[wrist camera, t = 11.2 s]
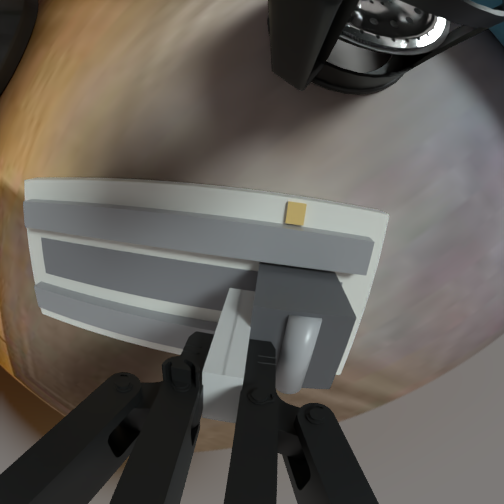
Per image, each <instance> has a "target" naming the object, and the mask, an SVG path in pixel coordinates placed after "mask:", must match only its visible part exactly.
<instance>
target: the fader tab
mask: <svg viewBox="0 0 504 504" xmlns="http://www.w3.org/2000/svg"><path fill="white" fill-rule="evenodd" d="M355 321H356V315H355V313H354V311H353V309H352V307H351V305H350V302H349V300H348V298H347V296H346V294H345V292H344V290H343V288H342V286H341V283H340V281H339V279H338V277H337V275H336V273H335V272H331V271H323V270H315V269H308V268H300V267H293V266H285V265H278V264H270V263H263V262H260V263H259V270H258V277H257V283H256V290H255V296H254V303H253V310H252V317H251V324H250V327H251V329H250V336H249V339H254V340H261V341H270V342H272V344H273V346H274V347H275V349H276V386H275V388H276V389H277V390H278V391H280V392H282V393H285V394H294V393H297V392H298V391H300V389H301V388H315V389H330V387H331V384H332V382H333V380H334V377H335V375H336V372H337V370H338V367H339V365H340V362H341V360H342V357H343V354H344V352H345V349H346V346H347V344H348V341H349V338H350V335H351V332H352V329H353V326H354V324H355Z"/></svg>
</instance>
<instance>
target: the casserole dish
mask: <svg viewBox="0 0 504 504" xmlns="http://www.w3.org/2000/svg"><path fill="white" fill-rule="evenodd" d="M471 1H473V2H475V3H477V4H480V5H483V6H486V7H488V8H491V9H493V8H495V7H497V6H499V5H501V4H503V3H502V0H471ZM489 30H490V31H491V32H492V33H493V34H494V35H495V37H496V38H497V39H498V40H499V41H500V43H501V44H502V45H503V46H504V22H502V23H500V24H497V25H495V26H493V27H491V28H489Z"/></svg>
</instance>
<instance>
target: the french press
mask: <svg viewBox="0 0 504 504" xmlns="http://www.w3.org/2000/svg"><path fill="white" fill-rule="evenodd" d="M502 3H503V4H501V5H499V6H497V7H495V8H493V9H491V8H488V7H486V6H483V5H480V4H477V3H475V2H473V1H471V0H268V9H269V15H268V32H269V36H270V45H271V65H272V72H273V73H274V74H276V75H277V76H279V77H280V78H282V79H283V80H285V81H286V82H288V83H289V84H291V85H292V86H294V87H295V88H297V89H298V90H300V91H302V90H304V89H305V88H306V87H307V85H308V84H309V83H310V82H312V83H314V84H316V85H319V86H321V87H324V88H326V89H328V90H332V91H337V92H341V93H347V94H368V93H374V92H377V91H381V90H384V89H386V88H387V87H389V86H391V85H393V84H394V83H396V82H397V81H398V80H399V79H400V78H401V77H402V76H403V74H404V73H406V72H407V71H409V70H411V69H413V68H414V67H416V66H418V65H419V64H421V63H423V62H425V61H426V60H428V59H430V58H432V57H434V56H435V55H437V54H439V53H441V52H443V51H445V50H446V49H448V48H450V47H452V46H454V45H456V44H458V43H460V42H462V41H464V40H466V39H468V38H470V37H472V36H474V35H476V34H478V33H480V32H482V31H484V30H486V29H489V28H491V27H493V26H495V25H497V24H500V23H502V22H504V0H502ZM450 22H453V23H457V24H462V26H460V27H459V28H457V29H455V30H454V31H452V32H450V33H449V34H448V32H449V28H450ZM338 39H340V40H342V41H344V42H347V43H349V44H352V45H354V46H357V47H361V48H364V49H368V50H371V51H375V52H381V53H387V54H391V57H390V59H389V60H388V62H387V63H386V64H385V65H384V66H383V67H381V68H379V69H377V70H375V71H371V72H367V73H358V72H354V71H351V70H347V69H343V68H340V67H338V66H336V65H333V64H331V63H328V62H326V60H327V59H328V57H329V55H330V53H331V51H332V49H333V47H334V46H335V44H336V42H337V40H338Z"/></svg>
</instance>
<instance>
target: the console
mask: <svg viewBox="0 0 504 504" xmlns="http://www.w3.org/2000/svg"><path fill="white" fill-rule="evenodd" d="M23 206H24V221H25V227H27V234H28V242H29V250H30V257H31V263H32V269H33V275H34V280H35V286H34V288H35V293H36V297H37V301H38V305H39V307H40V308H41V311H42V314H45V315H48V316H50V317H53V318H55V319H58V320H61V321H63V322H66V323H69V324H72V325H75V326H77V327H80V328H83V329H86V330H89V331H92V332H96V333H99V334H102V335H105V336H109V337H112V338H115V339H119V340H122V341H126V342H129V343H133V344H137V345H141V346H145V347H149V348H153V349H157V350H161V351H165V352H170V353H174V354H179V355H181V353H182V352H183V348H184V346H185V344H186V342H187V340H188V337H189V336H190V335H192V334H193V333H194V332H196V331H198V332H204V333H209V334H215V331H216V328H217V325H218V322H219V319H220V316H221V313H222V310H223V307H224V304H225V301H226V298H227V294H228V291H229V288H234V289H241V290H248V291H255V290H256V283H257V277H258V270H259V263H260V262H263V263H270V264H278V265H285V266H293V267H300V268H308V269H315V270H323V271H331V272H335V273H336V275H337V277H338V279H339V281H340V283H341V286H342V288H343V290H344V292H345V294H346V296H347V298H348V300H349V302H350V305H351V307H352V309H353V311H354V313H355V315H356V321H355V324H354V326H353V329H352V332H351V335H350V338H349V341H348V344H347V346H346V349H345V352H344V354H343V357H342V360H341V362H340V365H339V367H338V370H337V372H336V375H340V374H341V372H342V369H343V367H344V364H345V362H346V359H347V357H348V354H349V352H350V349H351V346H352V344H353V341H354V338H355V335H356V333H357V330H358V327H359V324H360V321H361V318H362V315H363V312H364V309H365V306H366V303H367V300H368V297H369V293H370V290H371V287H372V283H373V280H374V276H375V273H376V269H377V265H378V262H379V258H380V254H381V250H382V246H383V242H384V237H385V233H386V229H387V224H388V219H389V214H387V213H385V212H383V211H381V210H377V209H372V208H367V207H362V206H357V205H351V204H346V203H340V202H335V201H329V200H323V199H317V198H310V197H304V196H297V195H291V194H284V193H276V192H269V191H261V190H253V189H245V188H236V187H227V186H218V185H208V184H197V183H185V182H173V181H158V180H142V179H121V178H86V177H43V178H32V179H27V180H25V201H23Z"/></svg>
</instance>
